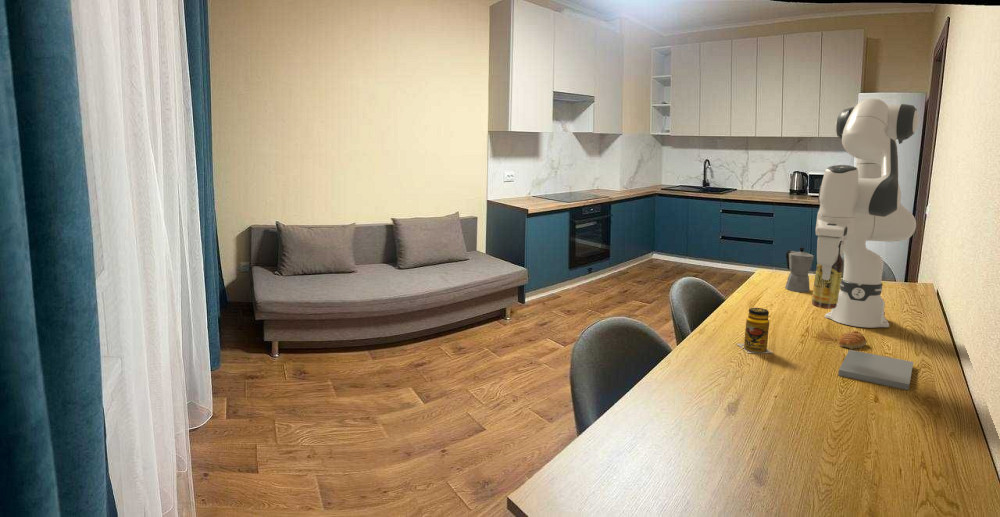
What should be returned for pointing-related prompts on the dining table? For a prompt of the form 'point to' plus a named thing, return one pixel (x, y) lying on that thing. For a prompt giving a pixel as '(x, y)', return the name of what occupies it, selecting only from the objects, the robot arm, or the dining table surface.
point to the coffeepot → (798, 270)
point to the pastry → (852, 340)
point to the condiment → (756, 331)
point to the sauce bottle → (827, 285)
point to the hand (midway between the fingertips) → (828, 277)
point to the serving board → (877, 369)
